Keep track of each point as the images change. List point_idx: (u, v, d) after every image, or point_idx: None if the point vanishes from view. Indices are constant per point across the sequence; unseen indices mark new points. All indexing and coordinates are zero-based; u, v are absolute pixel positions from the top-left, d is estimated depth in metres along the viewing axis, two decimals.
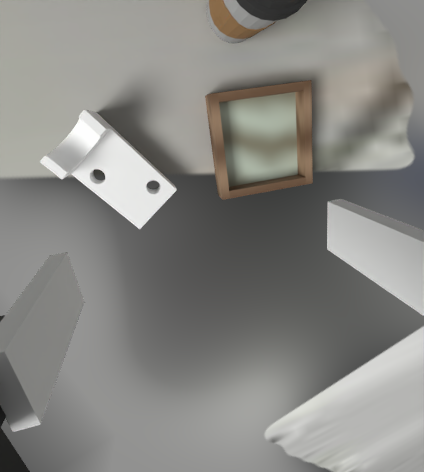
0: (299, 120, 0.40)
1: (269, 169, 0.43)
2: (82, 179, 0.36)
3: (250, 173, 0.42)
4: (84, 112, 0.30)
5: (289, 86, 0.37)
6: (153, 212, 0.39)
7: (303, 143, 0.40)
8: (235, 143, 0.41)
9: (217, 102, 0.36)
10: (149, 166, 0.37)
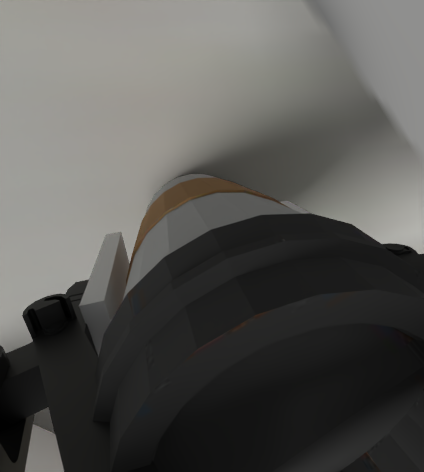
0: None
1: None
2: None
3: None
4: None
5: None
6: None
7: None
8: None
9: None
10: None
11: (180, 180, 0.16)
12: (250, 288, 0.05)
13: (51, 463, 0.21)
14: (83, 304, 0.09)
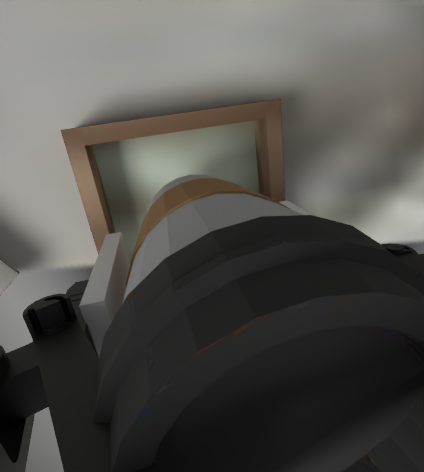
0: (262, 172, 0.21)
1: None
2: None
3: None
4: None
5: (236, 111, 0.18)
6: None
7: None
8: (142, 214, 0.22)
9: (81, 147, 0.17)
10: None
11: (180, 181, 0.16)
12: (251, 290, 0.05)
13: None
14: (83, 304, 0.09)
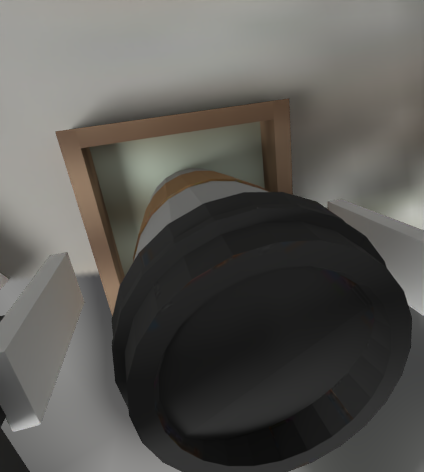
0: (268, 175, 0.20)
1: None
2: None
3: None
4: None
5: (242, 111, 0.17)
6: None
7: None
8: None
9: (77, 149, 0.16)
10: None
11: (180, 173, 0.18)
12: (231, 240, 0.06)
13: None
14: None
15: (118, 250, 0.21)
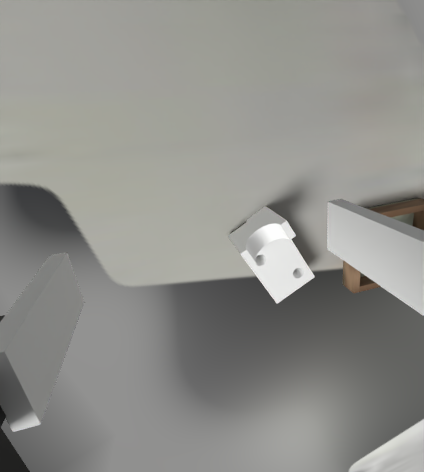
0: None
1: None
2: None
3: None
4: (285, 222, 0.37)
5: (417, 207, 0.46)
6: (291, 292, 0.46)
7: None
8: None
9: None
10: (301, 257, 0.44)
11: None
12: None
13: None
14: None
15: None
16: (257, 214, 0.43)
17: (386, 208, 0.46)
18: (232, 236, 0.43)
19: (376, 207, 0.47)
